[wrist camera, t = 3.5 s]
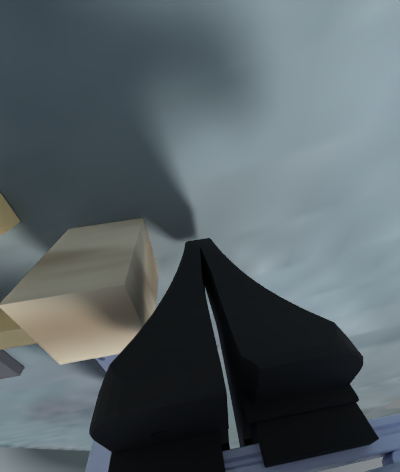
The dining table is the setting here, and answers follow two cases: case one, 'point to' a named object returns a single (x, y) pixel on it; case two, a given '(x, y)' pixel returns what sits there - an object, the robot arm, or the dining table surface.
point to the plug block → (88, 291)
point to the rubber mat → (9, 366)
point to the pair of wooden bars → (3, 326)
